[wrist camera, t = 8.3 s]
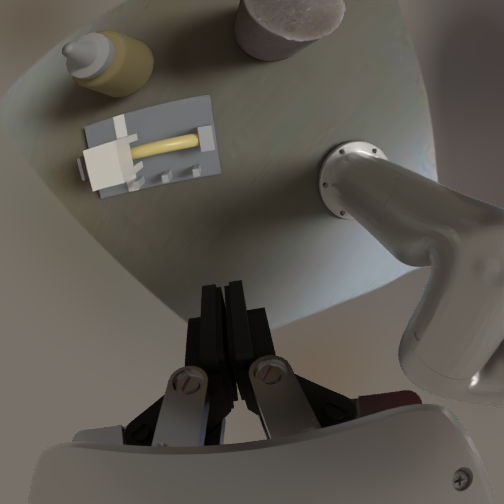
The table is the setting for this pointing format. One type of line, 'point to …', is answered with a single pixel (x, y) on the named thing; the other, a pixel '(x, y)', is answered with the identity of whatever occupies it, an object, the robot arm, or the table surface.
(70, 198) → the table surface
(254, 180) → the table surface
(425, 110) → the table surface
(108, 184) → the white block
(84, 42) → the squeeze bottle
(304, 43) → the pillar candle
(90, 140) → the gray assembly board
